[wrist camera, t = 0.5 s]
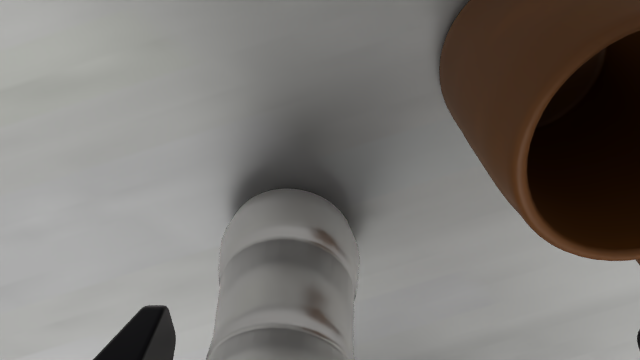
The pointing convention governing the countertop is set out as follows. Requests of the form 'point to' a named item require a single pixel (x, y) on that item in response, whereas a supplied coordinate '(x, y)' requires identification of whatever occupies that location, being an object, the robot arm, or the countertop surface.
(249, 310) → the plastic bottle
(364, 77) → the countertop surface
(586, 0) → the mug
